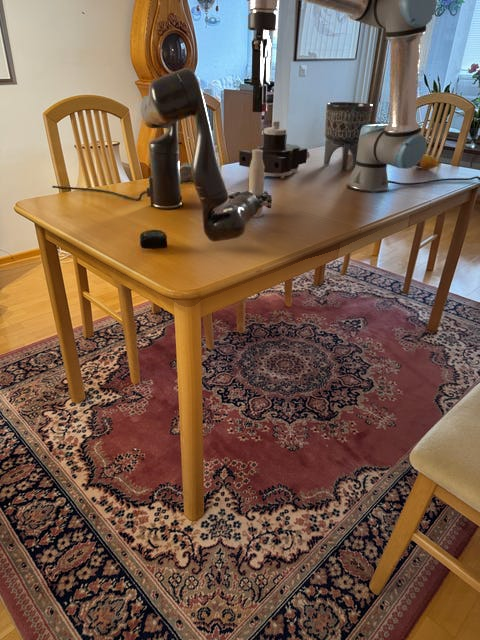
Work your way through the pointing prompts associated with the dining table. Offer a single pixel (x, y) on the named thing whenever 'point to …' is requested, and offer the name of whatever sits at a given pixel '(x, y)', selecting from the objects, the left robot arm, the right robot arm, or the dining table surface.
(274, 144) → the mechanical component
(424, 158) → the toy
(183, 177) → the rock
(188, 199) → the dining table surface
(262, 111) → the cap
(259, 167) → the bottle
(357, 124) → the planter
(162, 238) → the tape measure
